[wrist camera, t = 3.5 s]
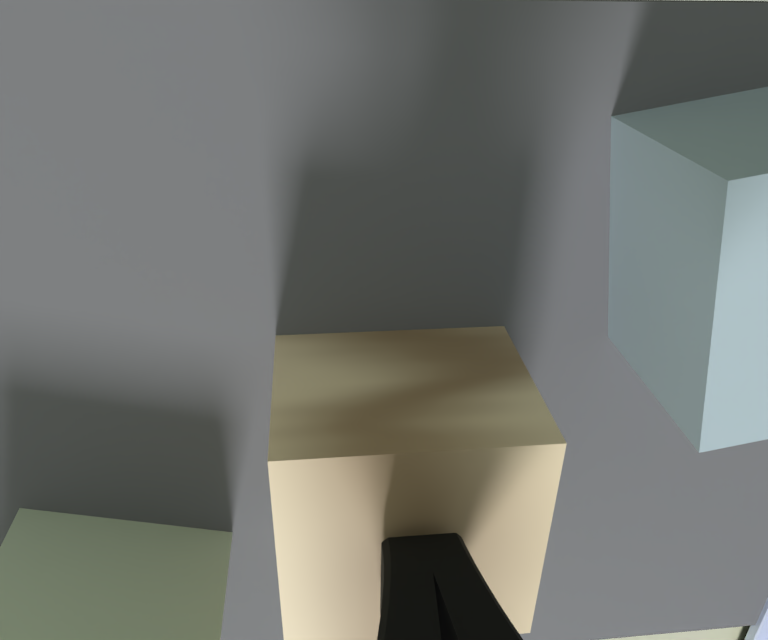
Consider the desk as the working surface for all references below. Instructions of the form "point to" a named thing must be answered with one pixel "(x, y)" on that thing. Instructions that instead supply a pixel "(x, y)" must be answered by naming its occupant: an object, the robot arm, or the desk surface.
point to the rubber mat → (351, 264)
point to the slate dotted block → (694, 261)
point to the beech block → (405, 467)
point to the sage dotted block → (110, 579)
